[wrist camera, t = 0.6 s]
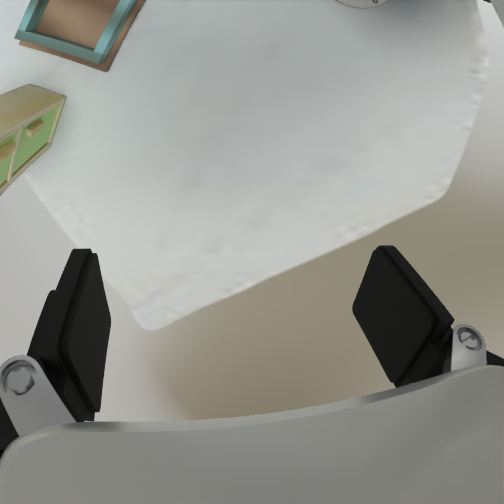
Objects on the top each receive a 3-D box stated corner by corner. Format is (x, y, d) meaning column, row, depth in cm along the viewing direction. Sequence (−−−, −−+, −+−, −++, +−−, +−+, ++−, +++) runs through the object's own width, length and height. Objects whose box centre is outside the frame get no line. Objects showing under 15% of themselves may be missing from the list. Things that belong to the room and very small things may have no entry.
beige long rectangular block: (54, 150, 37) (-22, 230, 21) (14, 135, 34) (-74, 205, 18) (72, 98, 34) (-13, 148, 17) (29, 83, 31) (-69, 125, 14)
